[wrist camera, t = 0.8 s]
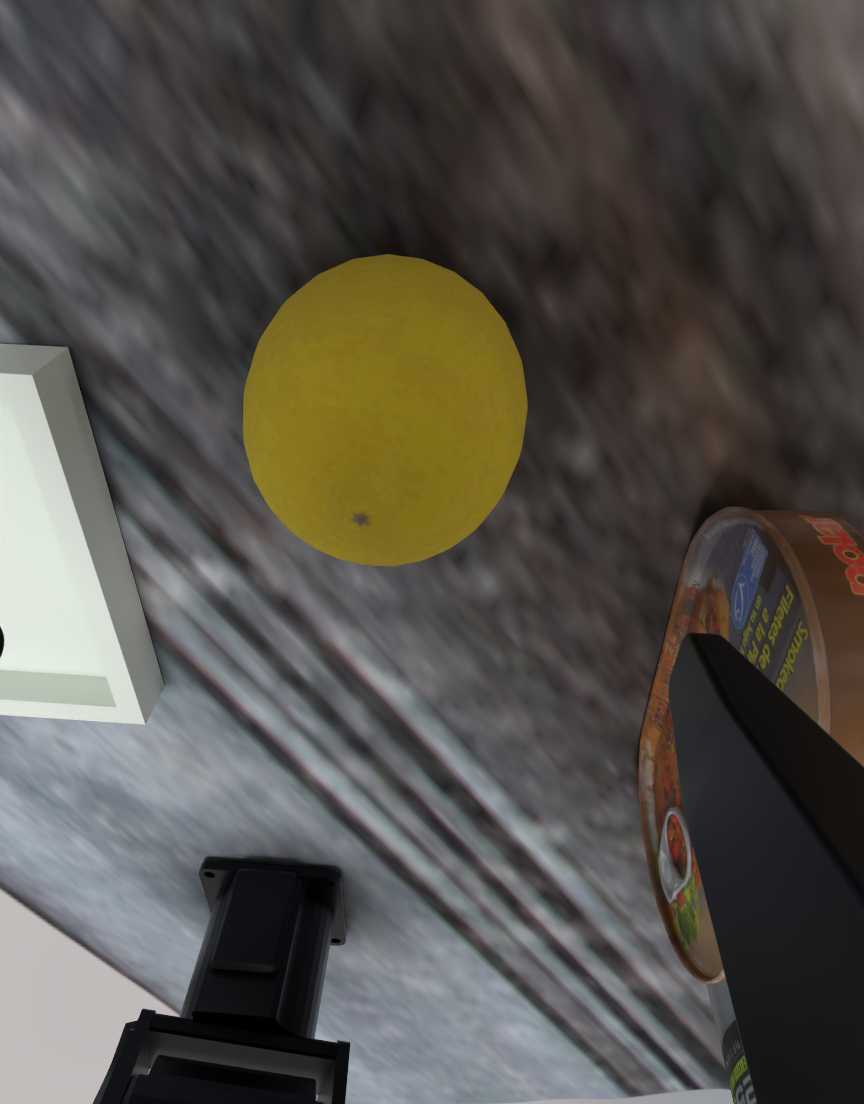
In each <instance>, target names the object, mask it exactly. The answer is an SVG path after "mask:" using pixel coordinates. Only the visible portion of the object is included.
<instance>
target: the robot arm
mask: <svg viewBox="0 0 864 1104" xmlns="http://www.w3.org/2000/svg"><path fill="white" fill-rule="evenodd" d="M3 649H4V634H3V631H2V629H1V626H0V657H1V655H2V652H3ZM669 702H670V709H671V717H672V725H673V733H674V741H675V749H676V757H677V765H678V773H679V781H680V788H681V795H682V802H683V807H684V812H685V817H686V821H687V826H688V830H689V834H690V838H691V842H692V846H693V850H694V854H695V858H696V862H697V866H698V870H699V874H700V878H701V882H702V886H703V890H704V894H705V898H706V902H707V906H708V910H709V914H710V918H711V922H712V926H713V930H714V934H715V938H716V942H717V946H718V950H719V954H720V958H721V962H722V966H723V970H724V974H725V978H726V982H727V986H728V990H729V994H730V998H731V1002H732V1006H733V1010H734V1014H735V1018H736V1022H737V1026H738V1030H739V1034H740V1038H741V1043H742V1047H743V1051H744V1055H745V1059H746V1063H747V1067H748V1071H749V1075H750V1079H751V1083H752V1087H753V1091H754V1095H755V1099H756V1103H757V1104H864V766H863V765H862V764H861V763H859V762H858V761H857V760H856V759H855V758H854V757H853V756H852V755H851V754H850V753H849V752H848V751H846V750H845V749H844V748H843V747H842V746H841V745H840V744H839V743H838V742H837V741H836V740H835V739H833V738H832V737H831V736H830V735H829V734H828V733H827V732H826V731H825V730H824V729H823V728H822V727H821V726H819V725H818V724H817V723H816V722H815V721H814V720H813V719H812V718H811V717H810V716H809V715H808V714H806V713H805V712H804V711H803V710H802V709H801V708H800V707H799V706H798V705H797V704H796V703H795V702H793V701H792V700H791V699H790V698H789V697H788V696H787V695H786V694H785V693H784V692H783V691H782V690H780V689H779V688H778V687H777V686H776V685H775V684H774V683H773V682H772V681H771V680H770V679H769V678H767V677H766V676H765V675H764V674H763V673H762V672H761V671H760V670H759V669H758V668H757V667H756V666H754V665H753V664H752V663H751V662H750V661H749V660H748V659H747V658H746V657H745V656H744V655H743V654H741V653H740V652H739V651H738V650H737V649H736V648H735V647H734V646H733V645H732V644H731V643H730V642H729V641H727V640H726V639H725V638H724V637H723V636H721V635H719V634H713V633H697V632H690V633H688V634H686V635H685V637H684V638H683V640H682V642H681V645H680V648H679V651H678V654H677V657H676V660H675V663H674V666H673V669H672V672H671V675H670V680H669ZM199 876H200V879H201V882H202V885H203V888H204V892H205V895H206V898H207V901H208V904H209V907H210V911H211V917H210V920H209V923H208V926H207V930H206V933H205V936H204V939H203V943H202V946H201V949H200V953H199V956H198V959H197V962H196V966H195V969H194V972H193V975H192V979H191V982H190V985H189V988H188V992H187V995H186V998H185V1001H184V1005H183V1008H182V1011H181V1014H180V1017H175V1016H168V1015H163V1014H156V1011H154V1010H148V1009H142V1011H141V1014H140V1016H139V1019H138V1021H134V1022H129V1023H126V1024H125V1027H124V1030H123V1033H122V1036H121V1038H120V1041H119V1044H118V1047H117V1049H116V1052H115V1055H114V1058H113V1060H112V1063H111V1065H110V1068H109V1070H108V1072H107V1075H106V1077H105V1079H104V1081H103V1083H102V1085H101V1087H100V1089H99V1092H98V1094H97V1096H96V1098H95V1100H94V1102H93V1104H345V1096H346V1085H347V1074H348V1062H349V1051H350V1042H345V1041H339V1040H338V1041H337V1043H335V1042H329V1041H323V1040H316V1039H314V1037H315V1031H316V1025H317V1019H318V1013H319V1007H320V1001H321V995H322V989H323V983H324V978H325V972H326V966H327V960H328V954H329V948H330V945H336V946H337V945H343V944H345V942H346V935H347V930H346V919H345V907H344V896H343V885H342V876H341V874H340V873H339V872H337V871H335V870H330V869H316V868H303V867H289V866H276V865H262V864H249V863H235V862H222V861H205V862H203V863H202V865H201V868H200V871H199ZM149 1069H151V1070H150V1072H149ZM148 1073H149V1075H148ZM316 1094H317V1095H318V1100H317V1101H315V1100H316Z"/></svg>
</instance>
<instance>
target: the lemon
mask: <svg viewBox="0 0 864 1104" xmlns="http://www.w3.org/2000/svg"><path fill="white" fill-rule="evenodd" d="M527 409H528V400H527V393H526V386H525V379H524V372H523V365H522V360H521V358H520V355H519V353H518V350H517V348H516V346H515V344H514V341H513V339H512V337H511V334H510V332H509V330H508V327H507V325H506V323H505V322H504V320H503V319H502V318H501V316H500V315H499V314H498V312H497V311H496V310H495V309H494V307H493V306H492V305H491V303H490V302H489V301H488V300H487V298H486V297H485V296H484V295H483V293H482V292H481V291H479V290H478V289H477V288H475V287H474V286H473V285H471V284H470V283H469V282H467V281H466V280H465V279H463V278H462V277H461V276H459V275H458V274H457V273H455V272H453V271H451V270H448V269H446V268H444V267H441V266H439V265H436V264H434V263H431V262H429V261H426V260H424V259H420V258H413V257H405V256H398V255H390V254H385V255H378V256H371V257H363V258H356V259H352V260H350V261H347V262H345V263H343V264H341V265H338V266H336V267H334V268H332V269H329V270H327V271H325V272H322V273H320V274H318V275H317V276H315V277H314V278H313V279H312V280H310V281H309V282H308V283H307V284H305V285H304V286H303V287H302V288H301V289H299V290H298V291H297V292H296V293H295V294H293V295H292V296H291V297H290V298H289V299H287V300H286V301H285V303H284V304H283V305H282V306H281V308H280V309H279V311H278V312H277V314H276V315H275V317H274V318H273V320H272V321H271V323H270V324H269V326H268V327H267V329H266V330H265V332H264V333H263V335H262V336H261V338H260V340H259V342H258V345H257V348H256V351H255V354H254V357H253V361H252V364H251V367H250V371H249V374H248V377H247V381H246V385H245V390H244V401H243V440H244V446H245V450H246V453H247V457H248V461H249V465H250V468H251V472H252V476H253V479H254V481H255V483H256V485H257V487H258V488H259V490H260V492H261V494H262V496H263V497H264V499H265V501H266V503H267V504H268V506H269V507H270V509H271V510H272V511H273V513H274V514H275V515H276V516H277V517H278V518H279V519H280V520H281V521H282V522H283V524H284V525H285V526H286V527H287V528H288V529H289V530H290V531H291V532H292V533H293V534H295V535H296V536H298V537H299V538H300V539H302V540H303V541H305V542H306V543H307V544H309V545H310V546H312V547H313V548H315V549H317V550H319V551H322V552H324V553H326V554H328V555H331V556H333V557H335V558H338V559H340V560H345V561H349V562H354V563H358V564H362V565H369V566H397V565H403V564H408V563H414V562H419V561H422V560H425V559H427V558H429V557H432V556H434V555H436V554H439V553H441V552H444V551H446V550H448V549H450V548H452V547H453V546H455V545H456V544H457V543H459V542H460V541H461V540H463V539H464V538H466V537H467V536H468V535H470V534H471V533H472V532H474V531H475V530H476V529H477V528H478V527H479V526H480V524H481V523H482V522H483V521H484V520H485V518H486V517H487V516H488V515H489V513H490V512H491V511H492V510H493V508H494V507H495V506H496V505H497V503H498V502H499V500H500V499H501V497H502V495H503V494H504V491H505V489H506V487H507V484H508V482H509V480H510V478H511V475H512V473H513V471H514V468H515V466H516V464H517V462H518V459H519V456H520V453H521V450H522V444H523V438H524V431H525V424H526V417H527Z"/></svg>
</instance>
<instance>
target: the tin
mask: <svg viewBox="0 0 864 1104" xmlns="http://www.w3.org/2000/svg"><path fill="white" fill-rule="evenodd" d="M690 632H697V633H713V634H719V635H721V636H723V637H724V638H725V639H726V640H727V641H729V642H730V643H731V644H732V645H733V646H734V647H735V648H736V649H737V650H738V651H739V652H740V653H741V654H743V655H744V656H745V657H746V658H747V659H748V660H749V661H750V662H751V663H752V664H753V665H754V666H756V667H757V668H758V669H759V670H760V671H761V672H762V673H763V674H764V675H765V676H766V677H767V678H769V679H770V680H771V681H772V682H773V683H774V684H775V685H776V686H777V687H778V688H779V689H780V690H782V691H783V692H784V693H785V694H786V695H787V696H788V697H789V698H790V699H791V700H792V701H793V702H795V703H796V704H797V705H798V706H799V707H800V708H801V709H802V710H803V711H804V712H805V713H806V714H808V715H809V716H810V717H811V718H812V719H813V720H814V721H815V722H816V723H817V724H818V725H819V726H821V727H822V728H823V729H824V730H825V731H826V732H827V733H828V734H829V735H830V736H831V737H832V738H833V739H835V740H836V741H837V742H838V743H839V744H840V745H841V746H842V747H843V748H844V749H845V750H846V751H848V752H849V753H850V754H851V755H852V756H853V757H854V758H855V759H856V760H857V761H858V762H859V763H861V764H862V765H863V766H864V535H863V534H862V533H861V532H860V531H859V530H858V529H857V528H855V527H854V526H853V525H852V524H850V523H849V522H848V521H847V520H845V519H843V518H842V517H840V516H838V515H835V514H832V513H827V512H819V511H809V510H751V509H748V508H745V507H737V506H733V507H726V508H723V509H721V510H719V511H717V512H716V513H714V514H713V515H711V516H710V517H709V518H707V519H706V520H705V522H704V523H703V524H702V525H701V527H700V528H699V530H698V531H697V533H696V534H695V536H694V538H693V540H692V542H691V544H690V546H689V548H688V551H687V554H686V556H685V559H684V563H683V567H682V570H681V574H680V578H679V582H678V586H677V590H676V594H675V598H674V602H673V606H672V610H671V614H670V619H669V622H668V626H667V630H666V635H665V638H664V643H663V646H662V651H661V655H660V659H659V663H658V667H657V671H656V675H655V678H654V682H653V686H652V690H651V695H650V698H649V703H648V707H647V710H646V714H645V718H644V723H643V727H642V732H641V739H640V750H639V769H638V787H639V802H640V816H641V824H642V832H643V839H644V845H645V850H646V855H647V862H648V868H649V872H650V878H651V882H652V887H653V890H654V893H655V897H656V902H657V905H658V909H659V912H660V914H661V917H662V920H663V923H664V926H665V929H666V931H667V934H668V937H669V939H670V941H671V944H672V946H673V948H674V950H675V952H676V954H677V955H678V957H679V959H680V961H681V962H682V964H683V965H684V967H685V968H686V969H687V971H688V972H689V973H691V974H692V975H693V977H695V978H696V979H698V980H699V981H701V982H703V983H705V984H707V983H717V982H720V981H721V980H723V979H726V978H725V974H724V970H723V966H722V962H721V958H720V954H719V950H718V946H717V942H716V938H715V934H714V930H713V926H712V922H711V918H710V914H709V910H708V906H707V902H706V898H705V894H704V890H703V886H702V882H701V878H700V874H699V870H698V866H697V862H696V858H695V854H694V850H693V846H692V842H691V838H690V834H689V830H688V826H687V821H686V817H685V812H684V807H683V802H682V795H681V788H680V781H679V773H678V765H677V757H676V749H675V741H674V733H673V725H672V717H671V709H670V702H669V680H670V675H671V672H672V669H673V666H674V663H675V660H676V657H677V654H678V651H679V648H680V645H681V642H682V640H683V638H684V637H685V635H686V634H688V633H690Z"/></svg>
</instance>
